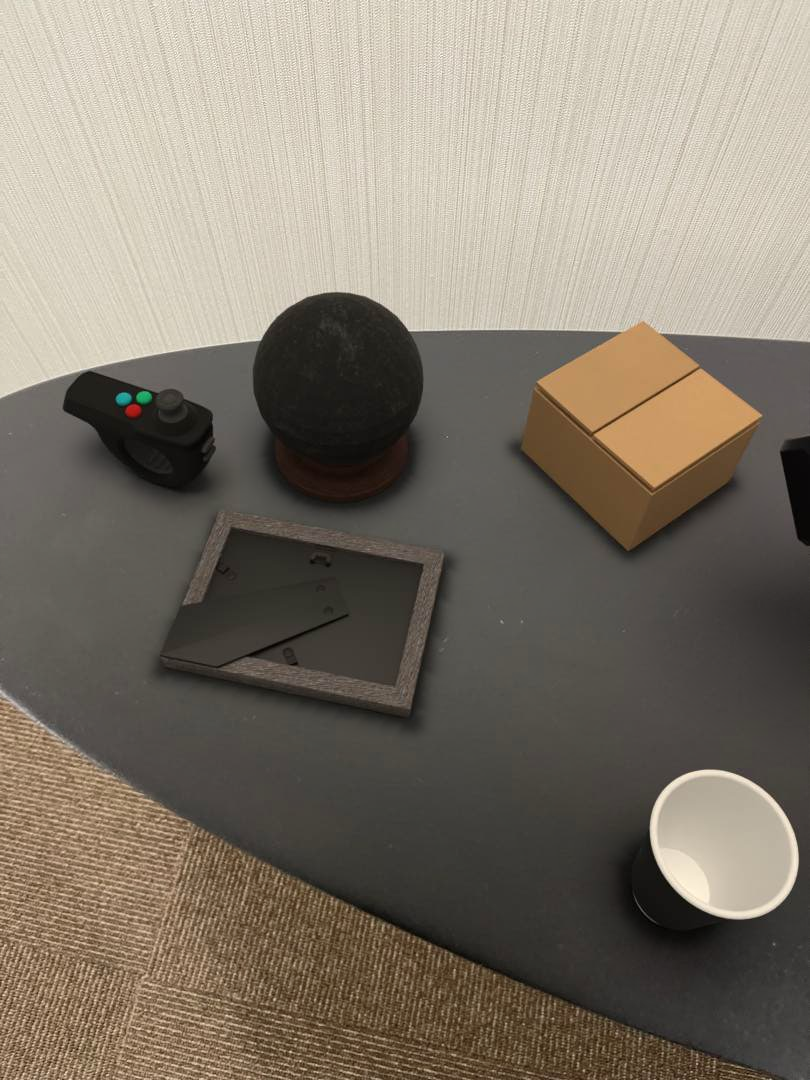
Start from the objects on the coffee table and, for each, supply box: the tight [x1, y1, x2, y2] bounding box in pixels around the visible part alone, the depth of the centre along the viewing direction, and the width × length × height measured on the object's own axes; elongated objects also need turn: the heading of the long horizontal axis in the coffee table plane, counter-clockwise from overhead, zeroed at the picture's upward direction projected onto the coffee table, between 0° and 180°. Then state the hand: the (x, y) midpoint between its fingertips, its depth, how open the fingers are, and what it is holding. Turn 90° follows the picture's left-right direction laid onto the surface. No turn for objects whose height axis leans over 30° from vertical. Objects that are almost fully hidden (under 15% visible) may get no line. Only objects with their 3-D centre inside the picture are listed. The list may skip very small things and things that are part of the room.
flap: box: [593, 367, 763, 491], centre depth 69 cm, size 6×12×1 cm, turn 127°
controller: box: [62, 370, 217, 487], centre depth 71 cm, size 4×12×10 cm, turn 67°
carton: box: [520, 320, 761, 552], centre depth 74 cm, size 13×12×8 cm
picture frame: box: [159, 508, 446, 719], centre depth 67 cm, size 13×2×18 cm
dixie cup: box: [630, 769, 800, 932], centre depth 53 cm, size 8×8×11 cm
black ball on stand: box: [252, 291, 424, 504], centre depth 71 cm, size 13×13×15 cm
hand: (802, 470), depth 61 cm, fingers closed
